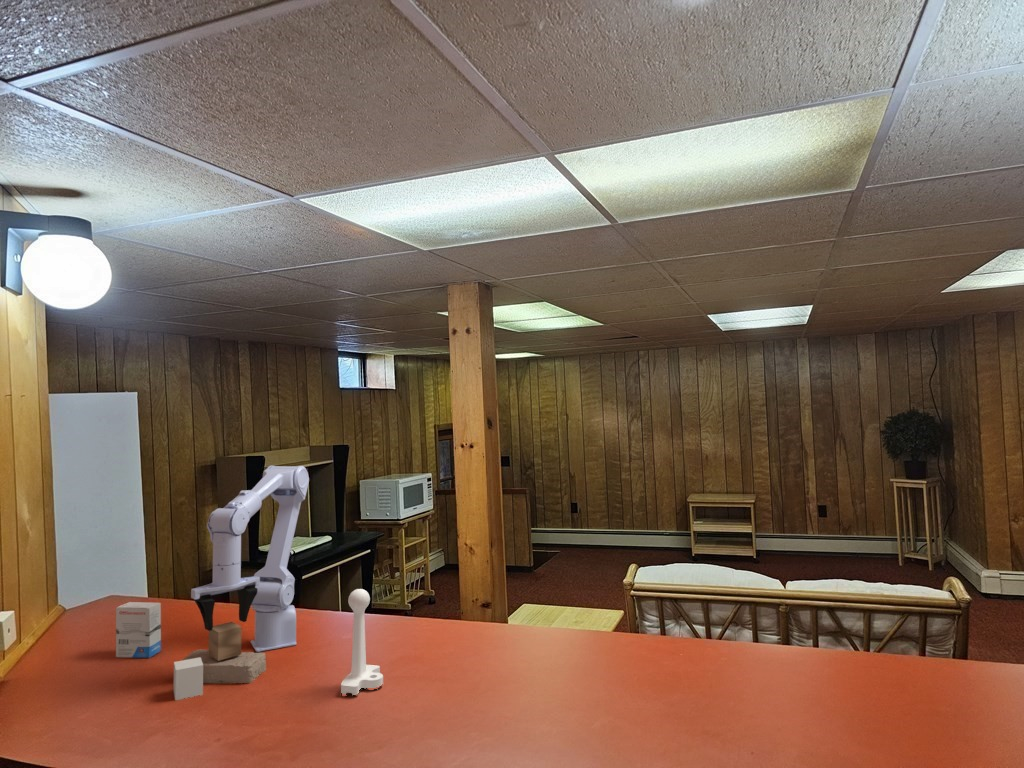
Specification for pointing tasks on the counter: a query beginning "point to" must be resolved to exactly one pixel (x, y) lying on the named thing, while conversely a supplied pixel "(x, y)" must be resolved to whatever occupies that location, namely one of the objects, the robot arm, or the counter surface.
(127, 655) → the ink box
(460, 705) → the counter surface
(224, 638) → the walnut block
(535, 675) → the counter surface
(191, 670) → the grey block
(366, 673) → the joystick
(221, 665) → the brick
